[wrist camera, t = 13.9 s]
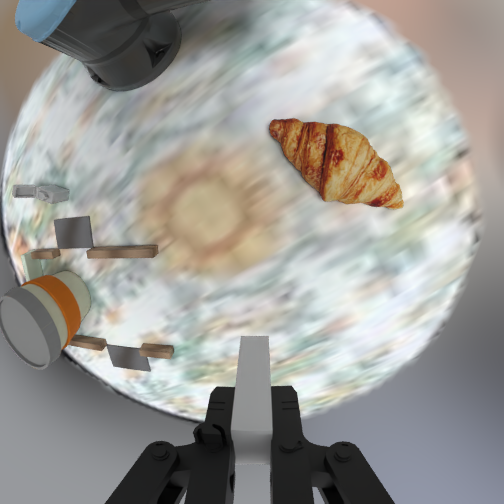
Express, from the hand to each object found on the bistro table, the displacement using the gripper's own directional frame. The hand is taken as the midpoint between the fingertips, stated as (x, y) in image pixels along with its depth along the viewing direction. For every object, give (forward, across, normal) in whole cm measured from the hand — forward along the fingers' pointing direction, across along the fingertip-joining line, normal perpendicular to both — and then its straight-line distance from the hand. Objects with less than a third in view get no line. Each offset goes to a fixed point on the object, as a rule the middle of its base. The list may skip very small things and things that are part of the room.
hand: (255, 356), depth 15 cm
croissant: (+25, +11, +11) cm, 29 cm away
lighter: (+25, -33, +10) cm, 43 cm away
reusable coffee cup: (+25, -33, -8) cm, 42 cm away
